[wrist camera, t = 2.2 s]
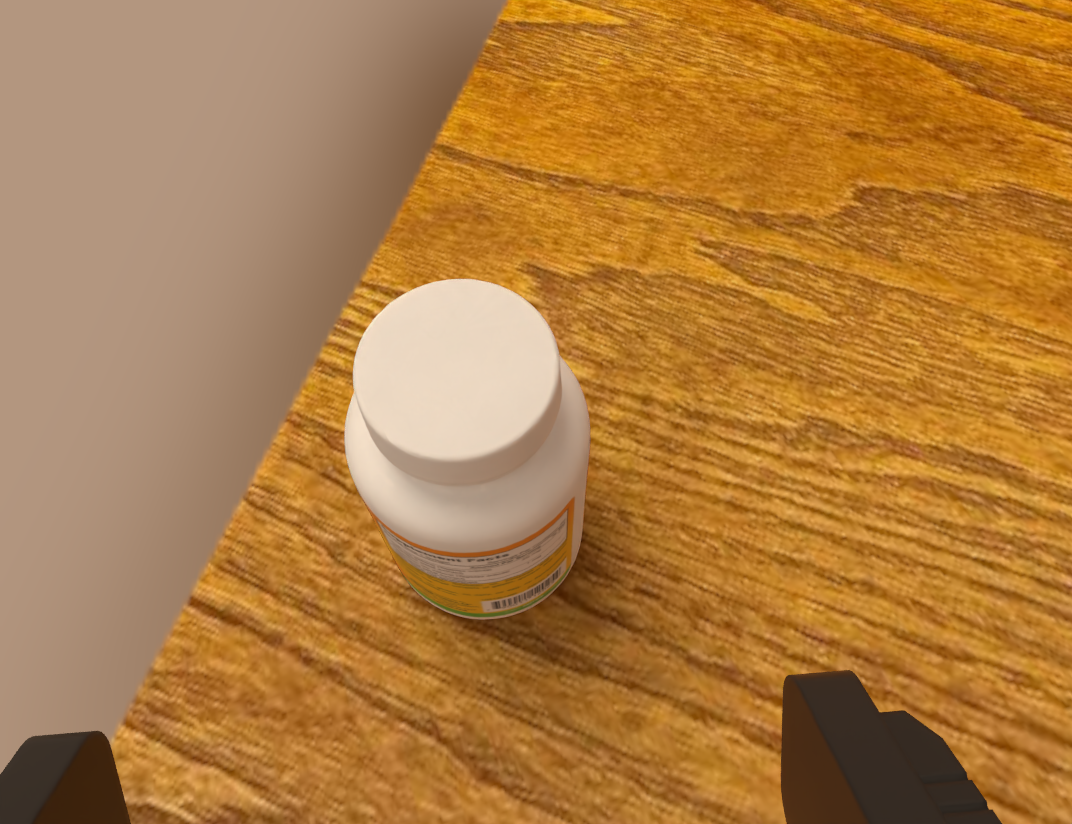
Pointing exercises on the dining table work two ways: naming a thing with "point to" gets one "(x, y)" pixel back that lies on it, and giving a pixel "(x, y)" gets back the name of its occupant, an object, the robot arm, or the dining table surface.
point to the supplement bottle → (470, 446)
